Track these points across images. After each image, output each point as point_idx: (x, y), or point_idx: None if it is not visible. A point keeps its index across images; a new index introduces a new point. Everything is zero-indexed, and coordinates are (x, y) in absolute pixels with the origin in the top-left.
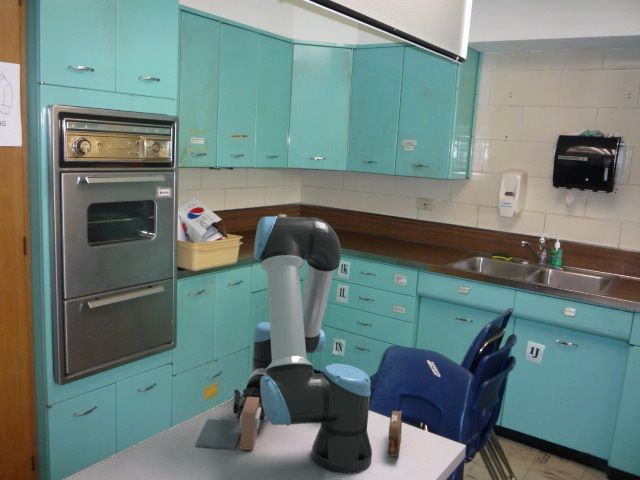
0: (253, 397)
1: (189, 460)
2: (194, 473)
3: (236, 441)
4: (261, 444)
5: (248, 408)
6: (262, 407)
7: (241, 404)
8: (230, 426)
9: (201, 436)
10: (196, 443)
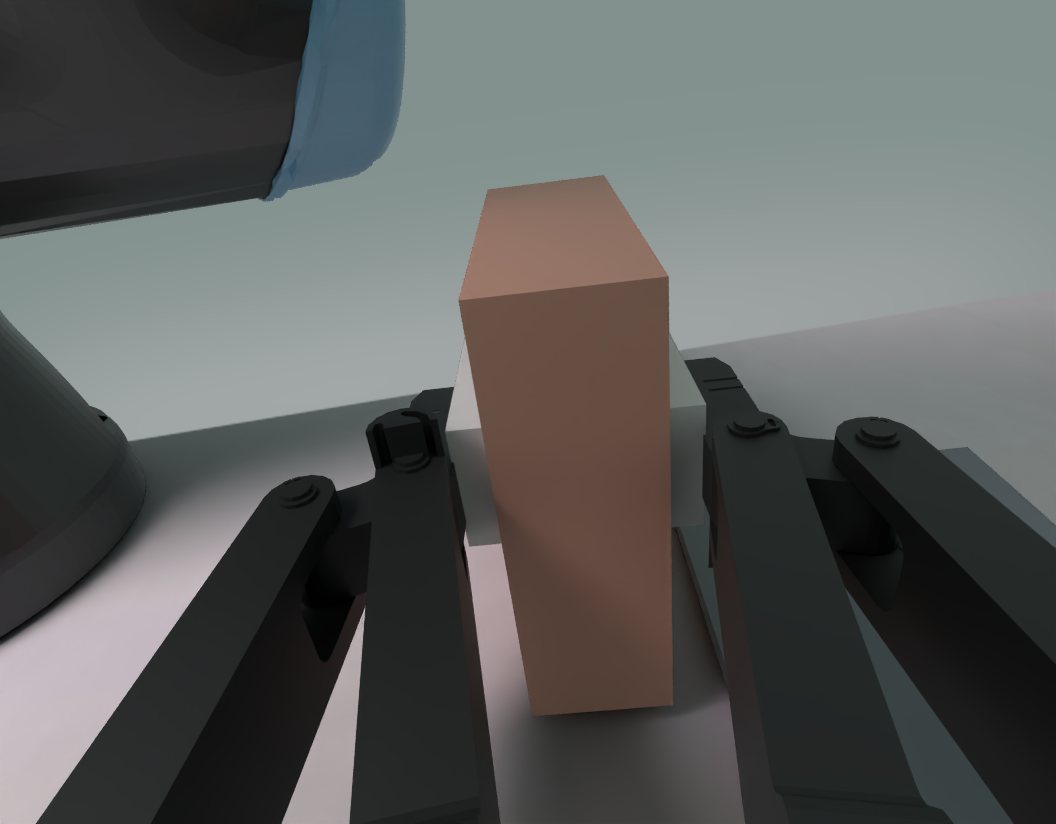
0: (556, 283)
1: (874, 380)
2: (772, 338)
3: (687, 532)
4: (476, 582)
5: (559, 196)
6: (429, 438)
7: (778, 444)
8: (926, 775)
9: (1041, 530)
10: (976, 456)
